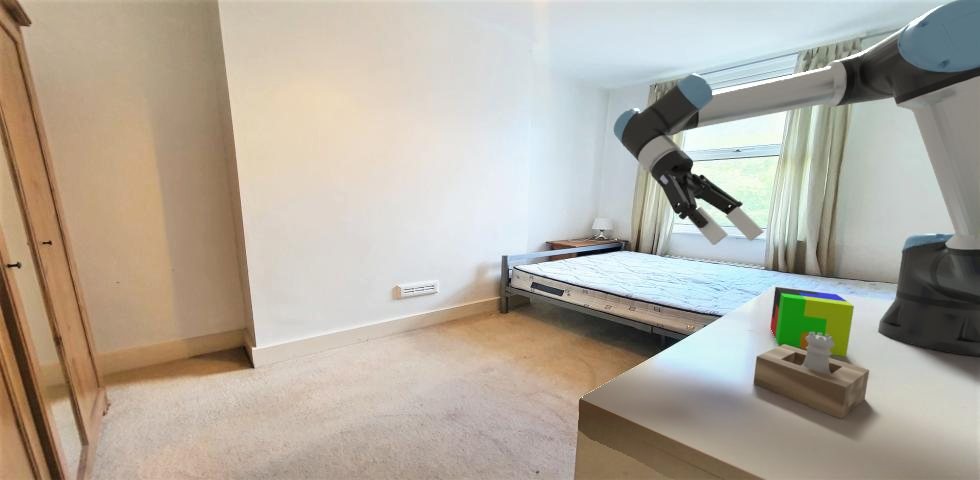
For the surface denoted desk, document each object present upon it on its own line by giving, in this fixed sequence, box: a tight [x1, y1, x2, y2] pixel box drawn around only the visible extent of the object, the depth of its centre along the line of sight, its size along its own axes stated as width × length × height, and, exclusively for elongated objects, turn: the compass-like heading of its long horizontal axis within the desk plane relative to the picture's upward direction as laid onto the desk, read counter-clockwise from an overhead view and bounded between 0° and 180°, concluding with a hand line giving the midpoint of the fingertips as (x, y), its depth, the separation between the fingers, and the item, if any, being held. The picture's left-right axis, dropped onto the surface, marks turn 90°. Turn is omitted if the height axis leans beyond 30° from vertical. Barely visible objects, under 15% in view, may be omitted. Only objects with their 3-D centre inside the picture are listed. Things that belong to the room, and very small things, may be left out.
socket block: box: [753, 344, 870, 420], centre depth 51 cm, size 10×10×4 cm
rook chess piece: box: [801, 332, 835, 375], centre depth 51 cm, size 4×4×8 cm
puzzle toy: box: [769, 286, 855, 357], centre depth 71 cm, size 10×10×10 cm
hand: (740, 238), depth 61 cm, fingers open, 13 cm apart
